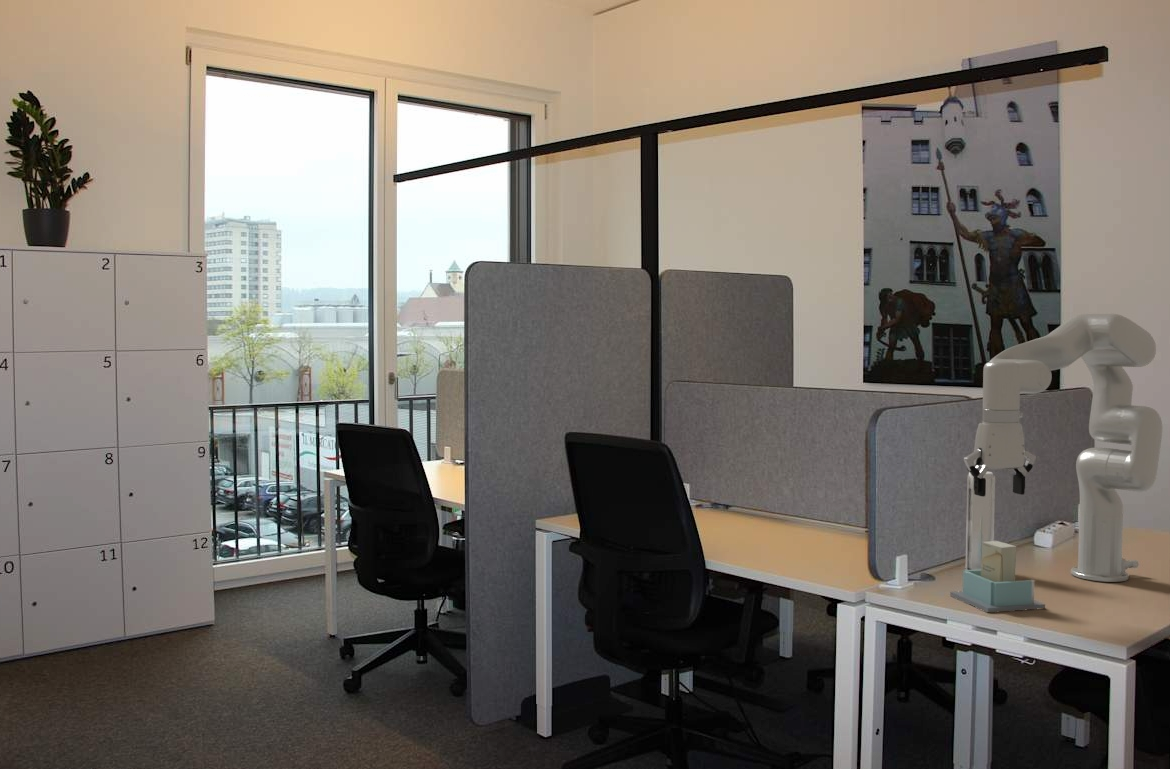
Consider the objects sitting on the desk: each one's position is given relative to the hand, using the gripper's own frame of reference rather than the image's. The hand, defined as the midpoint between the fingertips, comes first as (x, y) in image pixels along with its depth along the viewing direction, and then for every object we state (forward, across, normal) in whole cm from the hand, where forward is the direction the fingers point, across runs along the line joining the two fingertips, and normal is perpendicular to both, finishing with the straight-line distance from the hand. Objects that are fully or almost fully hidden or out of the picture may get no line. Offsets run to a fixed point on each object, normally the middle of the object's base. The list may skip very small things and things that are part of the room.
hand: (999, 494), depth 221 cm
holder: (+24, 0, 0) cm, 24 cm away
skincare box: (+23, 0, 0) cm, 23 cm away
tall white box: (+24, -14, -27) cm, 39 cm away
